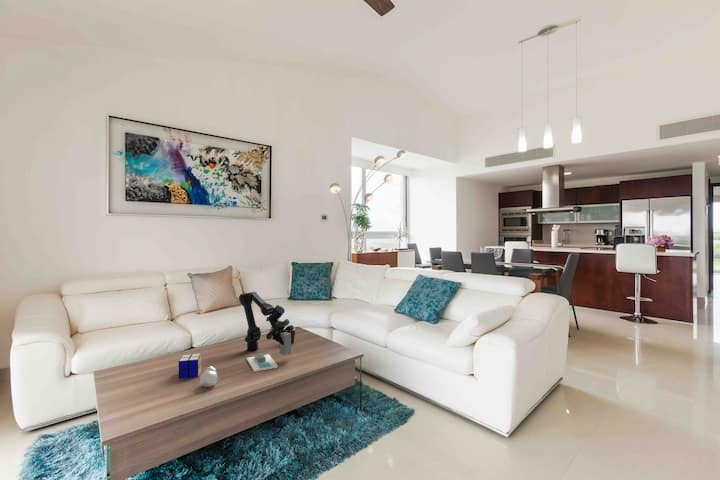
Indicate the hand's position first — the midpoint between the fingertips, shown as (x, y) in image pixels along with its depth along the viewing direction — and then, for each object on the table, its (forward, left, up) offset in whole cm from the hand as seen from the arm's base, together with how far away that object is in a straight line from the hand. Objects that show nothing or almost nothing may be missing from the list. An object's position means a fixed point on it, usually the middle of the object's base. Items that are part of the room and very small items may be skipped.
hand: (286, 343), depth 216 cm
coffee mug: (-9, +36, -12) cm, 39 cm away
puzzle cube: (-49, -23, -12) cm, 56 cm away
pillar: (-1, +1, -7) cm, 7 cm away
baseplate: (-14, -4, -12) cm, 19 cm away
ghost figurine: (-31, -36, -12) cm, 49 cm away
